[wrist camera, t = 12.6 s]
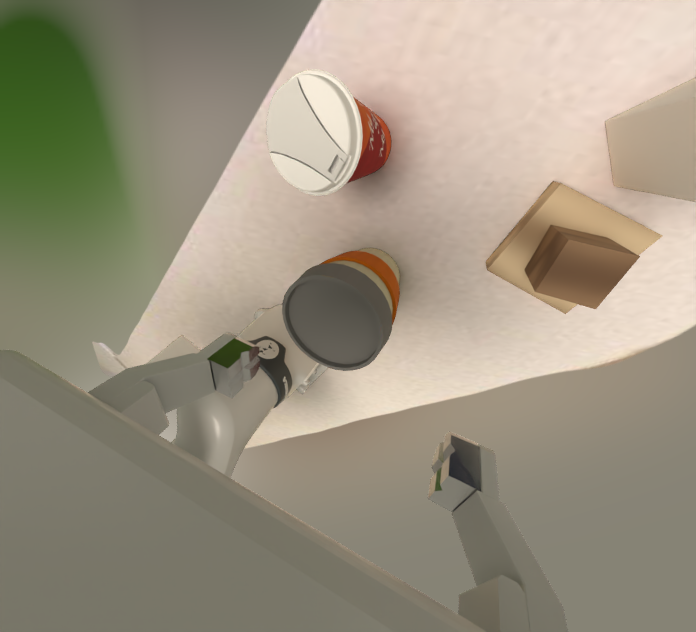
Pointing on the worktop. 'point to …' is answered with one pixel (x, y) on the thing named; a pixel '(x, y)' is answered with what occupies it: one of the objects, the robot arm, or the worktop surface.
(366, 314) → the reusable coffee cup
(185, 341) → the grater
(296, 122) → the coffee cup
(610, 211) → the oak plinth
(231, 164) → the worktop surface
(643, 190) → the milk
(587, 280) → the walnut cube
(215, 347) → the robot arm
